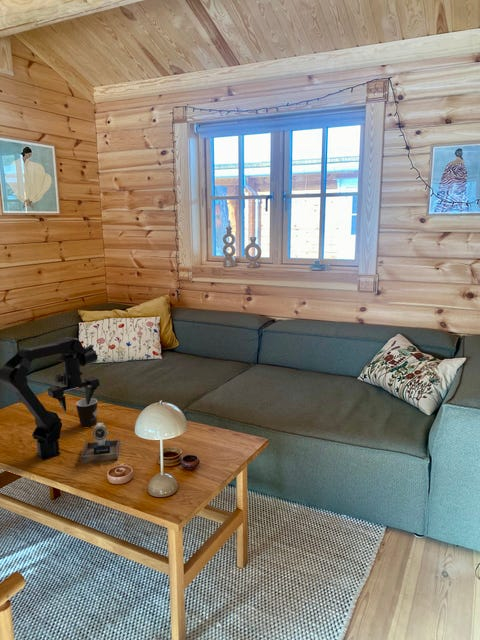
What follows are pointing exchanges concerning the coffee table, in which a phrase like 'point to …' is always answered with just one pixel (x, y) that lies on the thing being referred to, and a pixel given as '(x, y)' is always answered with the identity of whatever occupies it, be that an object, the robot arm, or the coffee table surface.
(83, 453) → the valet tray
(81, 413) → the coffee mug
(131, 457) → the coffee table surface
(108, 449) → the watch
